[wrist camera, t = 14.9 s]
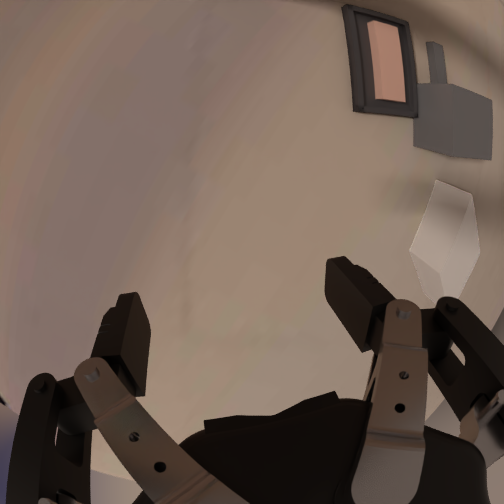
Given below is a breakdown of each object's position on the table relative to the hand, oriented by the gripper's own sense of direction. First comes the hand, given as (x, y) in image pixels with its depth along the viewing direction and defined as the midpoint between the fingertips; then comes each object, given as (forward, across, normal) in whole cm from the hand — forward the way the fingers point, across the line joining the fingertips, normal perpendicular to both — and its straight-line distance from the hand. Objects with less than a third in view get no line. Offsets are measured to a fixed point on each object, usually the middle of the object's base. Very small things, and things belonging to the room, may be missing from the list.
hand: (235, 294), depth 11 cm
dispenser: (+30, -44, -13) cm, 55 cm away
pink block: (+29, -30, -17) cm, 45 cm away
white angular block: (+30, -46, +19) cm, 58 cm away
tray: (+30, -30, -17) cm, 46 cm away
